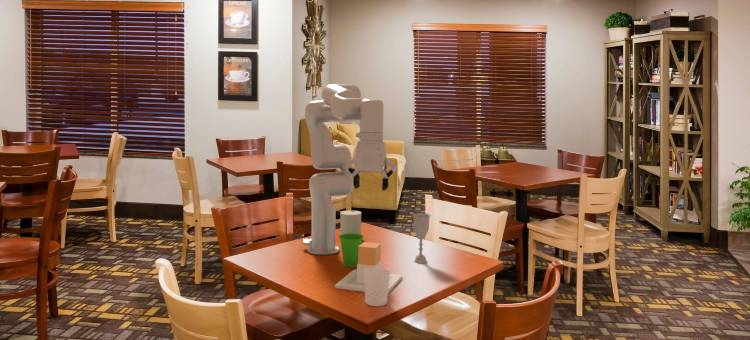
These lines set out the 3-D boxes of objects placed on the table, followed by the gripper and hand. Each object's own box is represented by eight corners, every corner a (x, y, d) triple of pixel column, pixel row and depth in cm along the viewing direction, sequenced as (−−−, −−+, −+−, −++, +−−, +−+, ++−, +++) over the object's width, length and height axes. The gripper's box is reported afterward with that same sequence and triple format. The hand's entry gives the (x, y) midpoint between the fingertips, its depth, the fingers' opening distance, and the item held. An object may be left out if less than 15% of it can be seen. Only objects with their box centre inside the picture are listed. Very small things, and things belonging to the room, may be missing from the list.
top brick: (358, 263, 204) (358, 246, 203) (363, 259, 210) (364, 242, 209) (375, 265, 202) (375, 248, 202) (380, 260, 208) (380, 243, 207)
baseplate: (334, 288, 201) (334, 284, 201) (353, 272, 218) (353, 269, 218) (386, 294, 196) (387, 291, 196) (402, 278, 213) (402, 274, 213)
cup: (366, 263, 230) (366, 234, 228) (358, 269, 221) (358, 240, 220) (344, 260, 233) (344, 232, 231) (335, 267, 224) (335, 237, 223)
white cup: (373, 296, 194) (373, 265, 193) (393, 301, 190) (394, 270, 188) (358, 303, 188) (358, 272, 186) (379, 309, 183) (380, 276, 182)
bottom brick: (356, 282, 204) (357, 264, 203) (364, 275, 212) (365, 258, 211) (373, 284, 202) (374, 266, 201) (381, 277, 210) (381, 260, 209)
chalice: (428, 264, 229) (429, 217, 226) (410, 263, 230) (411, 216, 228) (430, 259, 236) (431, 213, 234) (412, 258, 237) (414, 212, 235)
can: (363, 236, 270) (363, 210, 268) (358, 241, 261) (358, 214, 259) (343, 235, 272) (343, 208, 270) (337, 240, 263) (337, 212, 261)
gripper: (342, 137, 199) (342, 188, 202) (393, 139, 194) (392, 192, 196) (350, 135, 206) (350, 185, 209) (400, 137, 201) (398, 188, 203)
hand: (370, 188), depth 203 cm, fingers open, 9 cm apart
